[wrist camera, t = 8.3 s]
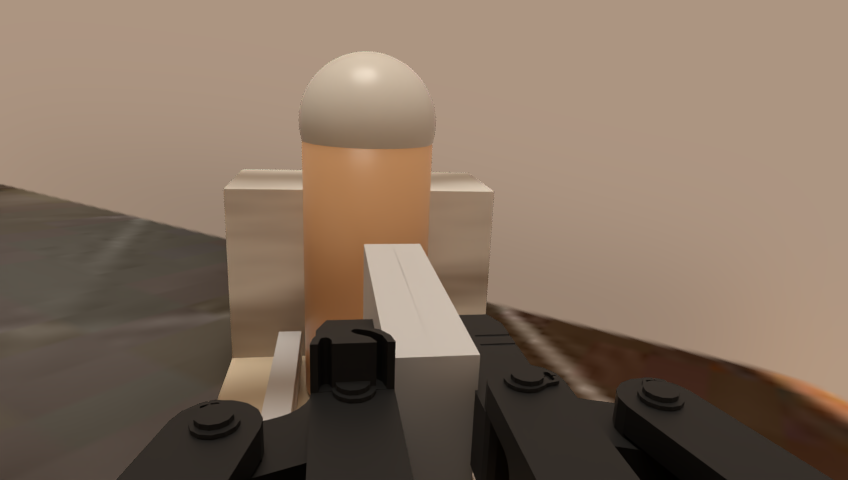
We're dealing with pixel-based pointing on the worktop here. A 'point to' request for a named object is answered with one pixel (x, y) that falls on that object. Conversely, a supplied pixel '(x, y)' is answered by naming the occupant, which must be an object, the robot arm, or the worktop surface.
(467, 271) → the knob mount
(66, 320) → the worktop surface
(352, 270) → the plunger knob
